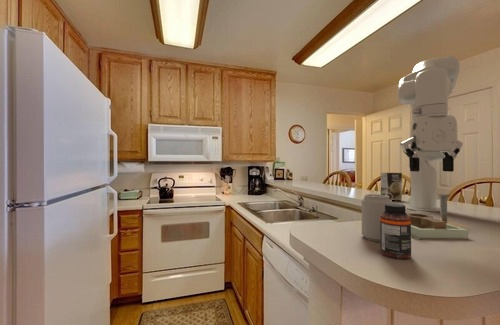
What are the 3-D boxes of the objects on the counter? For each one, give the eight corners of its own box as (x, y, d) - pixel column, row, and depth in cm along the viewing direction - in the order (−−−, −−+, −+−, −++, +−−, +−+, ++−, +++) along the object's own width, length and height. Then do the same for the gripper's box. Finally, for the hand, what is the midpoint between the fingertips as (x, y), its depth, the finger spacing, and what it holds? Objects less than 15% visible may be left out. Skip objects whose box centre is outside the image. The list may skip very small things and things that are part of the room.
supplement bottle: (388, 248, 58) (388, 201, 58) (416, 256, 53) (416, 205, 53) (374, 253, 55) (374, 203, 55) (403, 262, 50) (402, 207, 50)
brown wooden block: (400, 225, 78) (400, 213, 78) (422, 225, 78) (422, 213, 78) (427, 236, 66) (427, 221, 66) (452, 236, 66) (452, 222, 66)
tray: (384, 224, 82) (384, 216, 82) (423, 224, 81) (423, 216, 81) (419, 239, 64) (419, 229, 65) (468, 240, 64) (468, 229, 64)
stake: (419, 220, 87) (419, 192, 87) (444, 221, 87) (444, 192, 87) (443, 228, 76) (443, 196, 76) (472, 229, 76) (471, 196, 76)
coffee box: (388, 201, 134) (388, 172, 134) (380, 199, 140) (380, 172, 141) (402, 201, 136) (402, 172, 136) (393, 199, 142) (393, 172, 142)
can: (397, 243, 61) (397, 197, 61) (365, 241, 63) (365, 196, 63) (386, 235, 69) (386, 193, 69) (358, 233, 70) (358, 192, 70)
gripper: (409, 110, 67) (409, 171, 66) (472, 110, 66) (472, 171, 66) (393, 115, 74) (394, 171, 74) (450, 115, 74) (450, 171, 74)
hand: (431, 171), depth 70 cm, fingers open, 9 cm apart
